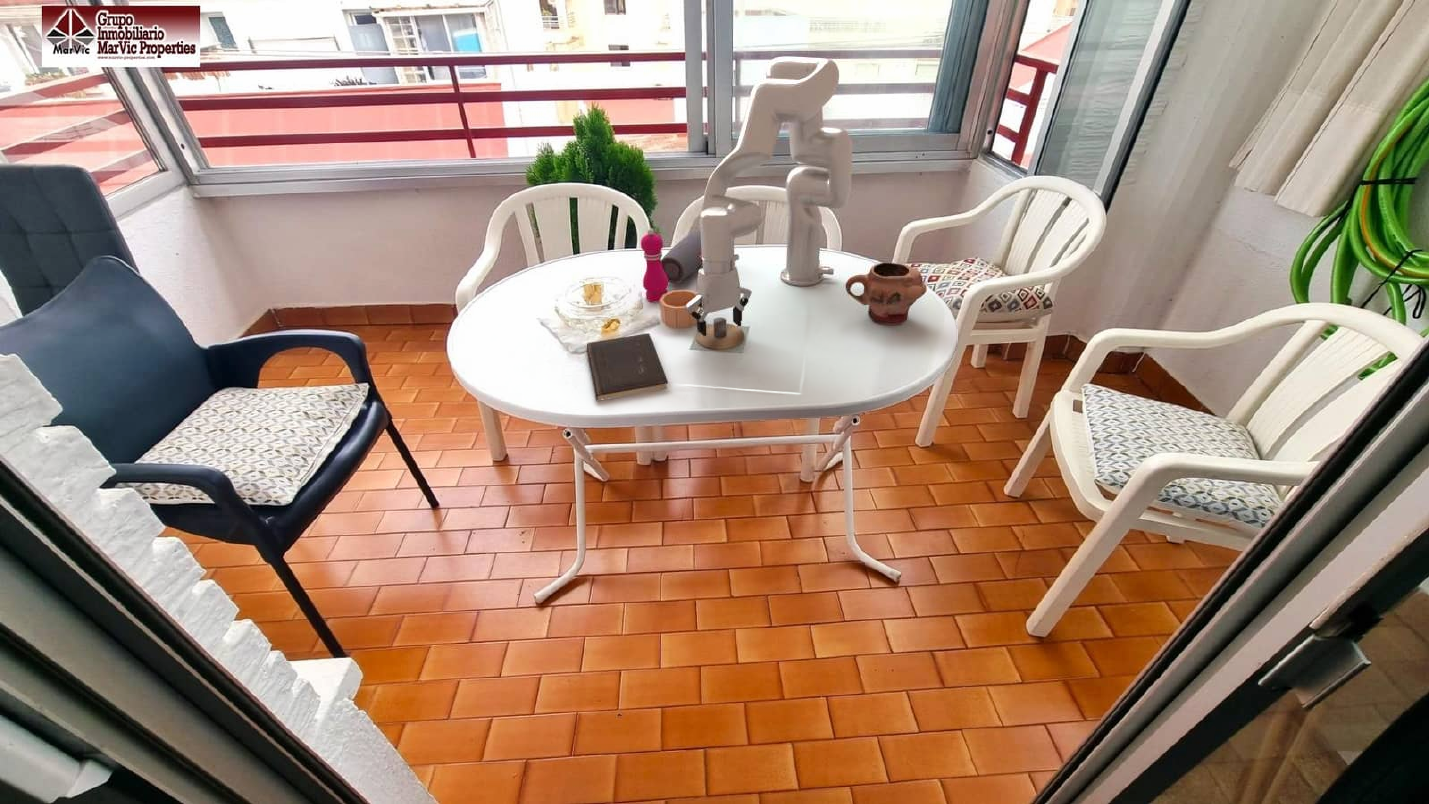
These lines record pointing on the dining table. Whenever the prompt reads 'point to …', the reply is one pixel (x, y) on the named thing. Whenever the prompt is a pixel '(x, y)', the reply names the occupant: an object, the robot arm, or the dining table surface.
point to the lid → (721, 335)
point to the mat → (736, 349)
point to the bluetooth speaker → (683, 258)
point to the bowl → (677, 308)
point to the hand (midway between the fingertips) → (720, 328)
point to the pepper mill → (654, 267)
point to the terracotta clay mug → (889, 291)
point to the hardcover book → (625, 366)
